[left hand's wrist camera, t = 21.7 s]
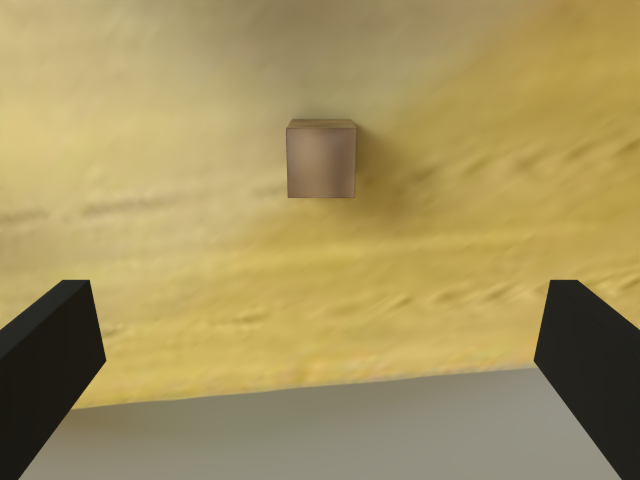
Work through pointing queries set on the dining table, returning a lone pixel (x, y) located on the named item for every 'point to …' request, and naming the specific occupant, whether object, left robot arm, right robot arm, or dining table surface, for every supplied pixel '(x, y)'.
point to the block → (321, 158)
